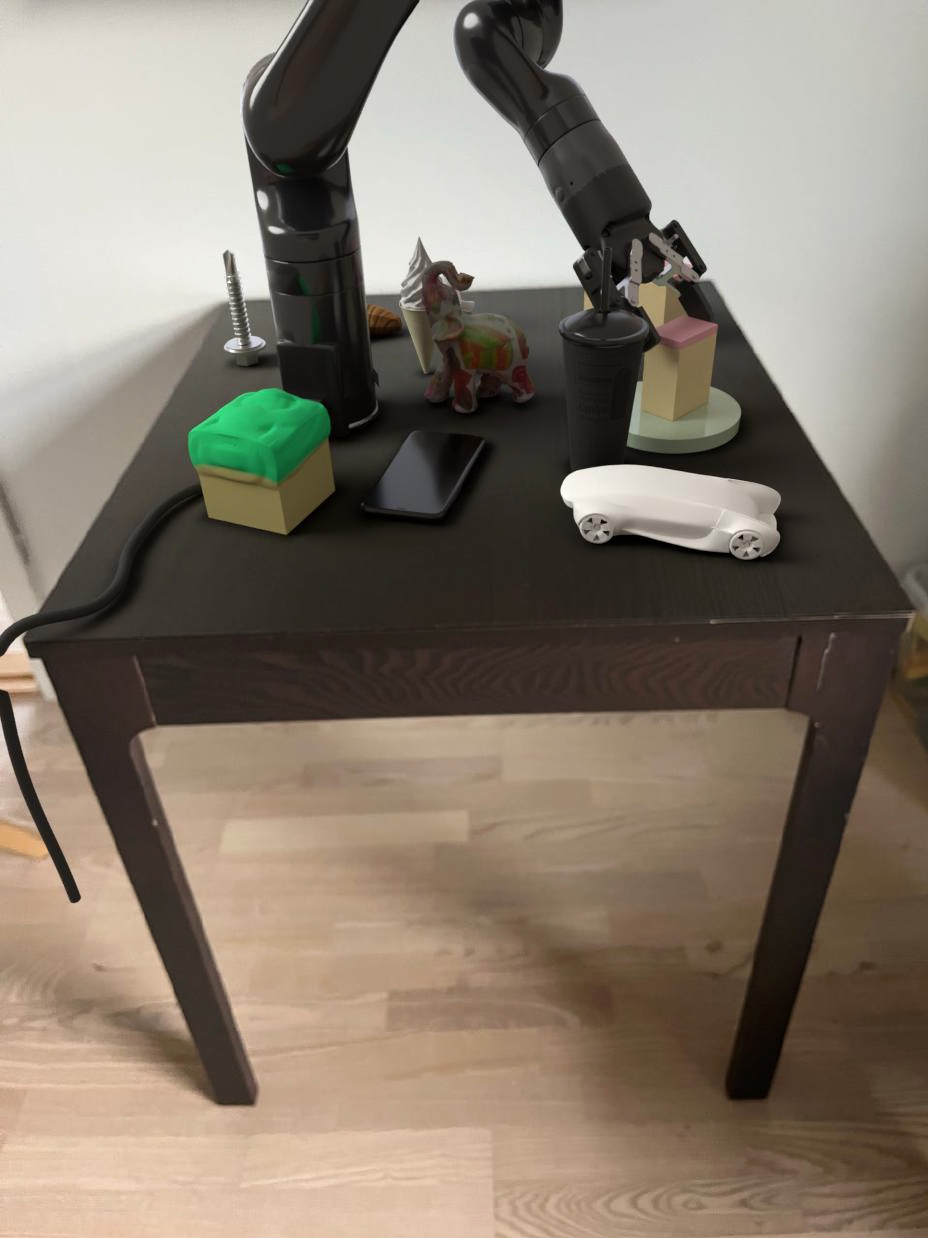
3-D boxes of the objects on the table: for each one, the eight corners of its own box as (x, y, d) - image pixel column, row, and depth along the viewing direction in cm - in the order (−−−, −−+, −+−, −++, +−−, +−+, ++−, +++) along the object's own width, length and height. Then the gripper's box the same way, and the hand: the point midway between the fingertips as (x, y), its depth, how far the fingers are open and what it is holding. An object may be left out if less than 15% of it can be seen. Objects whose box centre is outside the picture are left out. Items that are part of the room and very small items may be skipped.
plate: (734, 460, 91) (736, 445, 90) (586, 445, 94) (587, 431, 94) (743, 398, 102) (745, 385, 101) (610, 387, 105) (611, 374, 104)
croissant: (289, 344, 119) (283, 304, 116) (302, 324, 124) (296, 285, 121) (398, 344, 118) (395, 303, 115) (406, 324, 123) (403, 284, 120)
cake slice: (708, 401, 98) (718, 324, 93) (673, 421, 95) (680, 341, 90) (676, 391, 100) (683, 314, 95) (640, 409, 97) (646, 331, 92)
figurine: (435, 385, 107) (427, 245, 98) (540, 394, 104) (542, 251, 95) (413, 414, 102) (402, 269, 93) (523, 425, 99) (523, 276, 90)
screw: (275, 362, 115) (239, 373, 112) (255, 350, 118) (219, 361, 115) (257, 248, 107) (217, 258, 104) (236, 240, 110) (197, 249, 107)
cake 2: (692, 333, 117) (699, 266, 112) (661, 348, 113) (667, 279, 109) (614, 311, 124) (617, 246, 119) (583, 324, 121) (585, 258, 116)
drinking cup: (645, 454, 93) (662, 237, 81) (629, 492, 87) (645, 265, 75) (567, 444, 95) (573, 232, 83) (546, 481, 89) (549, 259, 77)
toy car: (777, 514, 83) (785, 466, 80) (776, 564, 77) (785, 514, 74) (569, 493, 87) (570, 448, 84) (552, 539, 81) (553, 492, 78)
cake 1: (351, 483, 90) (338, 381, 84) (289, 540, 83) (270, 433, 77) (263, 466, 94) (245, 367, 88) (196, 519, 86) (171, 415, 80)
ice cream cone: (448, 381, 108) (441, 242, 99) (402, 382, 108) (391, 244, 99) (449, 363, 112) (443, 228, 103) (405, 364, 112) (395, 230, 103)
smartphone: (412, 436, 97) (356, 516, 85) (411, 428, 97) (355, 507, 85) (488, 443, 96) (443, 525, 83) (488, 434, 95) (442, 516, 83)
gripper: (567, 174, 85) (660, 335, 85) (665, 148, 93) (750, 295, 93) (521, 226, 91) (608, 376, 91) (617, 198, 99) (697, 335, 99)
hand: (680, 335), depth 92 cm, fingers open, 8 cm apart
